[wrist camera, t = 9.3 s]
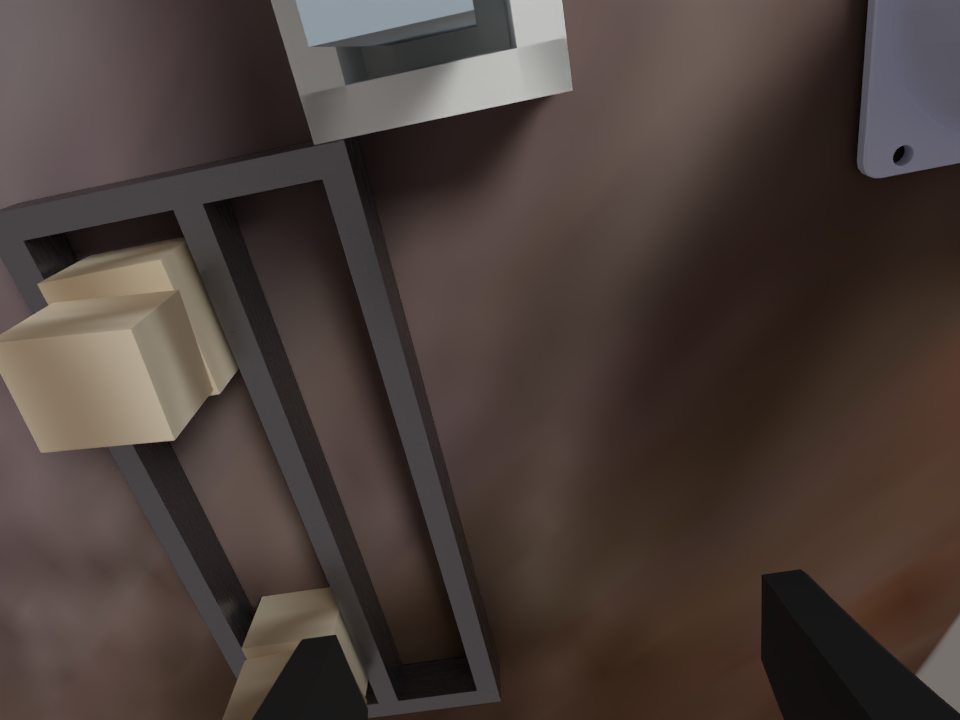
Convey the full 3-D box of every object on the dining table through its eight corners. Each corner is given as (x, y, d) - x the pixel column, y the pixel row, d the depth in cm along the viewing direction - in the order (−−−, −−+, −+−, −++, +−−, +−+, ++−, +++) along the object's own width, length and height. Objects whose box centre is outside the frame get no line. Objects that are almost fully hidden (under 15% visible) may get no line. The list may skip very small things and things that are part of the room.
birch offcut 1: (346, 582, 24) (332, 636, 22) (373, 651, 26) (363, 708, 24) (263, 594, 25) (241, 648, 22) (295, 661, 26) (278, 718, 24)
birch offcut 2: (331, 641, 22) (314, 707, 20) (367, 700, 24) (355, 768, 21) (244, 660, 23) (218, 727, 20) (285, 717, 24) (265, 786, 22)
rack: (355, 131, 17) (343, 140, 15) (499, 665, 26) (500, 701, 25) (19, 202, 18) (-22, 217, 16) (277, 695, 27) (265, 731, 26)
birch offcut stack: (204, 232, 18) (113, 293, 14) (253, 354, 20) (186, 443, 15) (86, 255, 18) (-39, 323, 14) (145, 373, 20) (50, 467, 16)
